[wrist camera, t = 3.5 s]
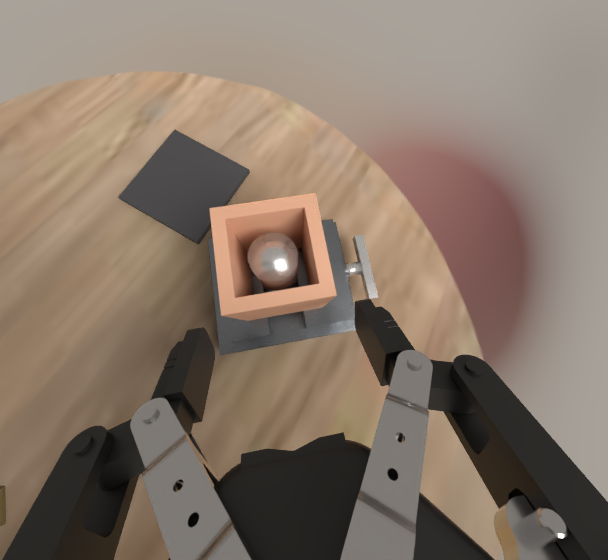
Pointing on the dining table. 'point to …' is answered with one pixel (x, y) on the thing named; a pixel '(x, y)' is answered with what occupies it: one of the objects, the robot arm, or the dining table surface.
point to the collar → (240, 235)
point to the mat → (184, 185)
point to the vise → (285, 275)
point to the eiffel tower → (2, 506)
